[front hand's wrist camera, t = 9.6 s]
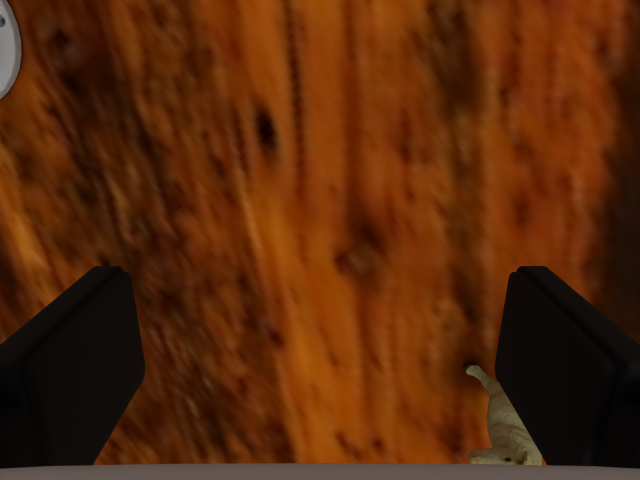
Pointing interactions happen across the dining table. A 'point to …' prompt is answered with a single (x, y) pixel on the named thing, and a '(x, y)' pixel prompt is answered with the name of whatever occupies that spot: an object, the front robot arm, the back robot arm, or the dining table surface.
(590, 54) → the dining table surface
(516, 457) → the toy
